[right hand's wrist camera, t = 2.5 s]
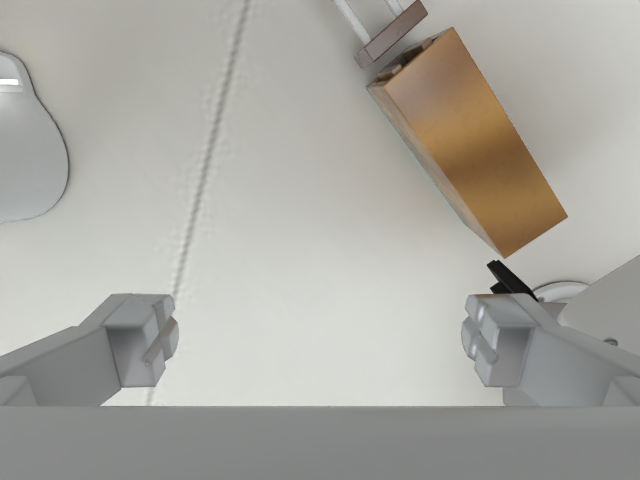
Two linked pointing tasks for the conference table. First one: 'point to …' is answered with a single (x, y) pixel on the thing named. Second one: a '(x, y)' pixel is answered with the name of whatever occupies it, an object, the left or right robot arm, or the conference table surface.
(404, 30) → the drawer
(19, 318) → the conference table surface
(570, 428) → the right robot arm
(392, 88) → the cabinet
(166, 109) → the conference table surface
